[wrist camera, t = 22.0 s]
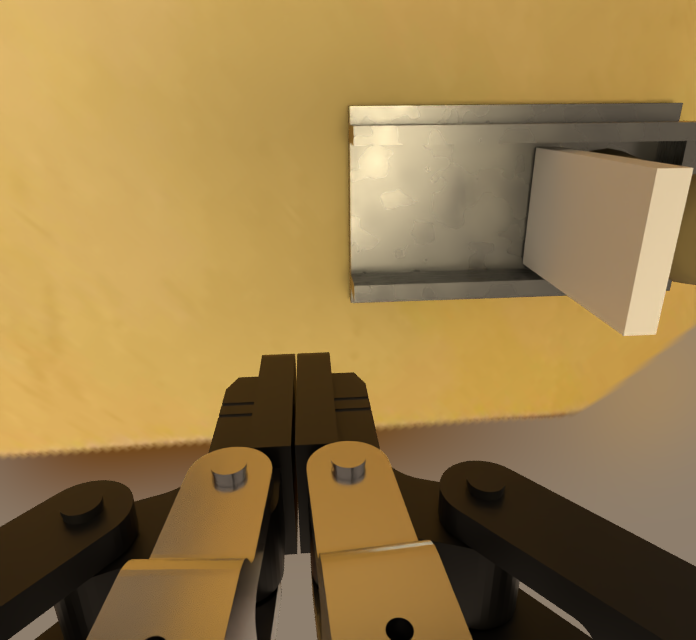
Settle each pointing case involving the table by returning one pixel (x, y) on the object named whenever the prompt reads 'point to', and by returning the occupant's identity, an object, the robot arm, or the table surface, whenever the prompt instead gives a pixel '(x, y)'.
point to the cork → (692, 244)
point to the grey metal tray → (473, 189)
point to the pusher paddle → (606, 232)
